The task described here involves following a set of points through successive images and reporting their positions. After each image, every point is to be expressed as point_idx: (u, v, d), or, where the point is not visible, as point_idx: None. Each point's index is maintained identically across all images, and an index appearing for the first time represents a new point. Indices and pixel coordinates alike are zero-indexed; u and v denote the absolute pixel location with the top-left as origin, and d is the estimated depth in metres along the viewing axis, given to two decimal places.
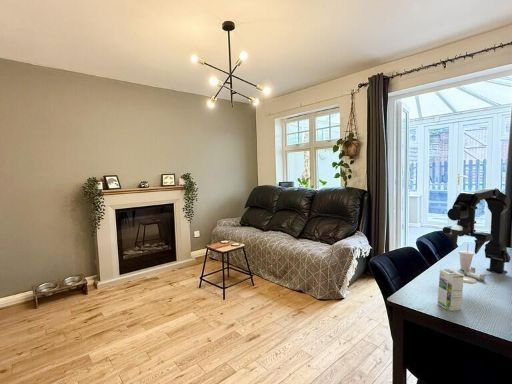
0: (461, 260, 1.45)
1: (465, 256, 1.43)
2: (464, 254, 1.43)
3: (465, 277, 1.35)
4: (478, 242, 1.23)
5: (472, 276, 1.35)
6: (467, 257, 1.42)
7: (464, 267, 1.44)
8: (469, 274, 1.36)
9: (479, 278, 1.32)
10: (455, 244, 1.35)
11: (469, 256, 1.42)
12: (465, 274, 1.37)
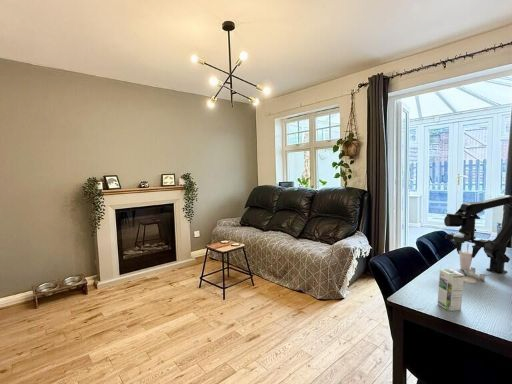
0: (461, 260, 1.45)
1: (465, 256, 1.43)
2: (464, 254, 1.43)
3: (465, 277, 1.35)
4: (475, 247, 1.38)
5: (472, 276, 1.35)
6: (467, 257, 1.42)
7: (464, 267, 1.44)
8: (469, 274, 1.36)
9: (479, 278, 1.32)
10: (459, 250, 1.48)
11: (469, 256, 1.42)
12: (465, 274, 1.37)
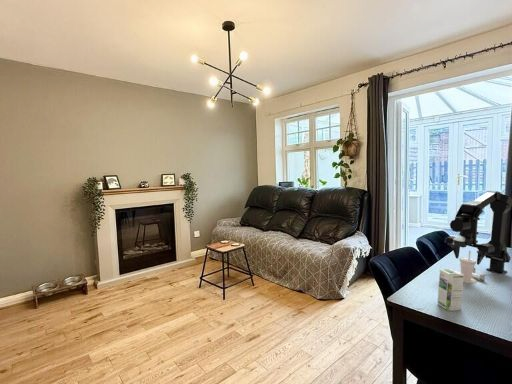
0: (462, 268, 1.32)
1: (466, 264, 1.30)
2: (465, 262, 1.30)
3: None
4: (480, 253, 1.25)
5: (472, 276, 1.35)
6: (468, 265, 1.30)
7: (465, 276, 1.31)
8: None
9: (479, 278, 1.32)
10: (457, 254, 1.36)
11: (471, 264, 1.29)
12: None
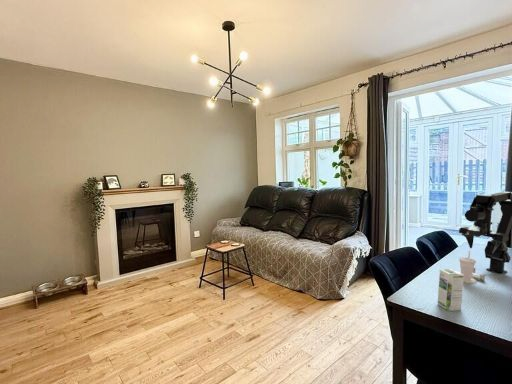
0: (462, 268, 1.32)
1: (466, 264, 1.30)
2: (465, 262, 1.30)
3: None
4: (495, 242, 1.29)
5: (472, 276, 1.35)
6: (468, 265, 1.30)
7: (465, 276, 1.31)
8: None
9: (479, 278, 1.32)
10: (471, 244, 1.40)
11: (470, 264, 1.29)
12: None
